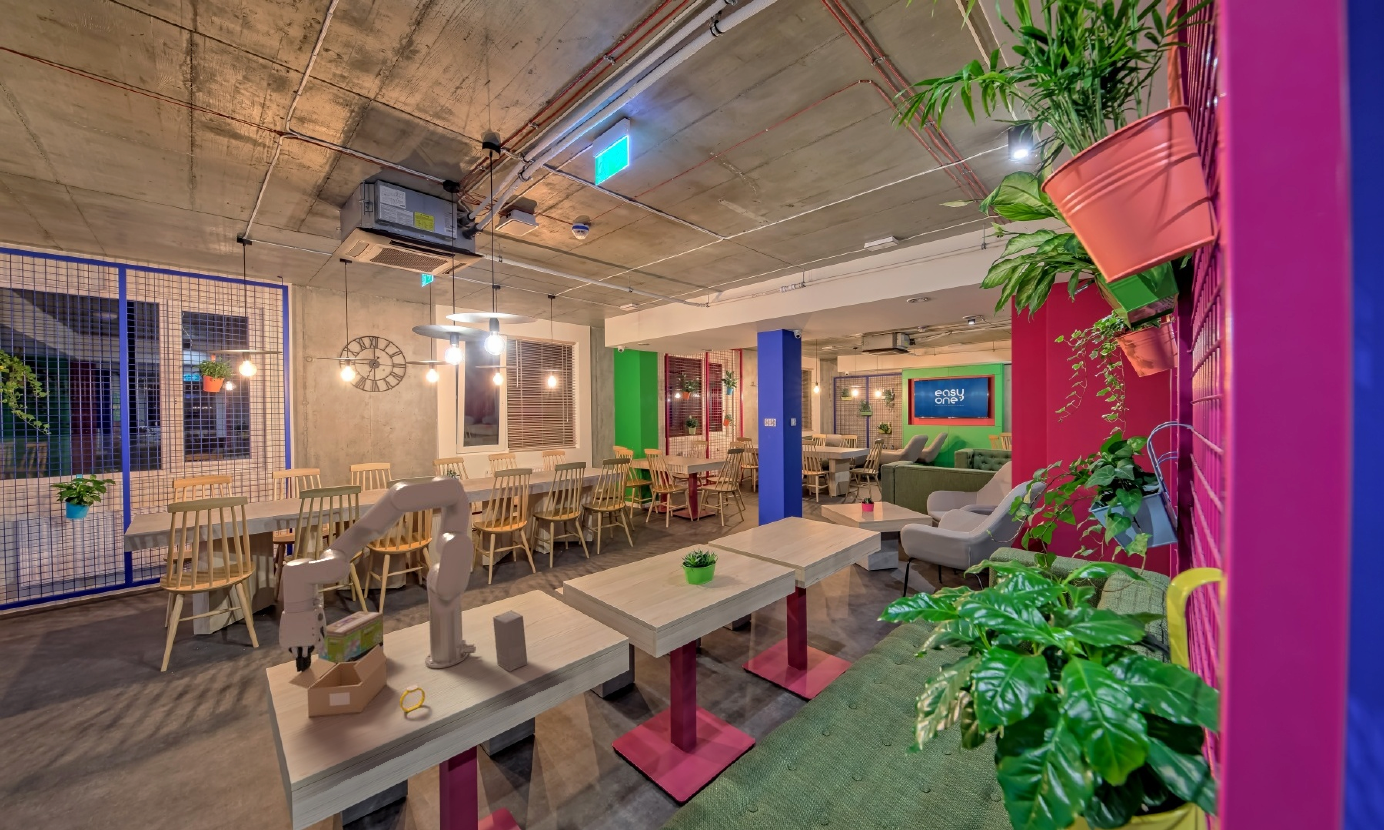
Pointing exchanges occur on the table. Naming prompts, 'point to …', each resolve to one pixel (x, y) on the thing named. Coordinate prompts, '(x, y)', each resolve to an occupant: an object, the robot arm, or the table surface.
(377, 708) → the table surface
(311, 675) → the flap
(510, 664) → the skincare box
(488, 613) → the table surface
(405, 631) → the table surface
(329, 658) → the tea box
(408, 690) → the watch
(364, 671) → the flap
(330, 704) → the carton
